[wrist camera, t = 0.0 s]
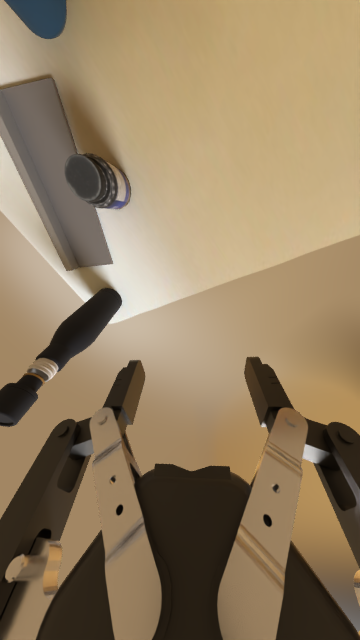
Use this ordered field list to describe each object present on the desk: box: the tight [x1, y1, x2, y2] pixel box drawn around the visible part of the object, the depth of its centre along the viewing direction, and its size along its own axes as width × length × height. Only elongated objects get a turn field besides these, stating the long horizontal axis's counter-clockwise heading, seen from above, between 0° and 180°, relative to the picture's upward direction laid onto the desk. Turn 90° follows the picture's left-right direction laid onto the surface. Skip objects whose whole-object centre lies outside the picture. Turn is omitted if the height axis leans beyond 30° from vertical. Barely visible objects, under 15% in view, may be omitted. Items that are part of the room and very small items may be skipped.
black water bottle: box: [0, 288, 122, 427], centre depth 30 cm, size 6×6×30 cm
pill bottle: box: [64, 154, 131, 209], centre depth 25 cm, size 6×6×11 cm
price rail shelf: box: [0, 78, 113, 271], centre depth 30 cm, size 26×10×3 cm, turn 6°
